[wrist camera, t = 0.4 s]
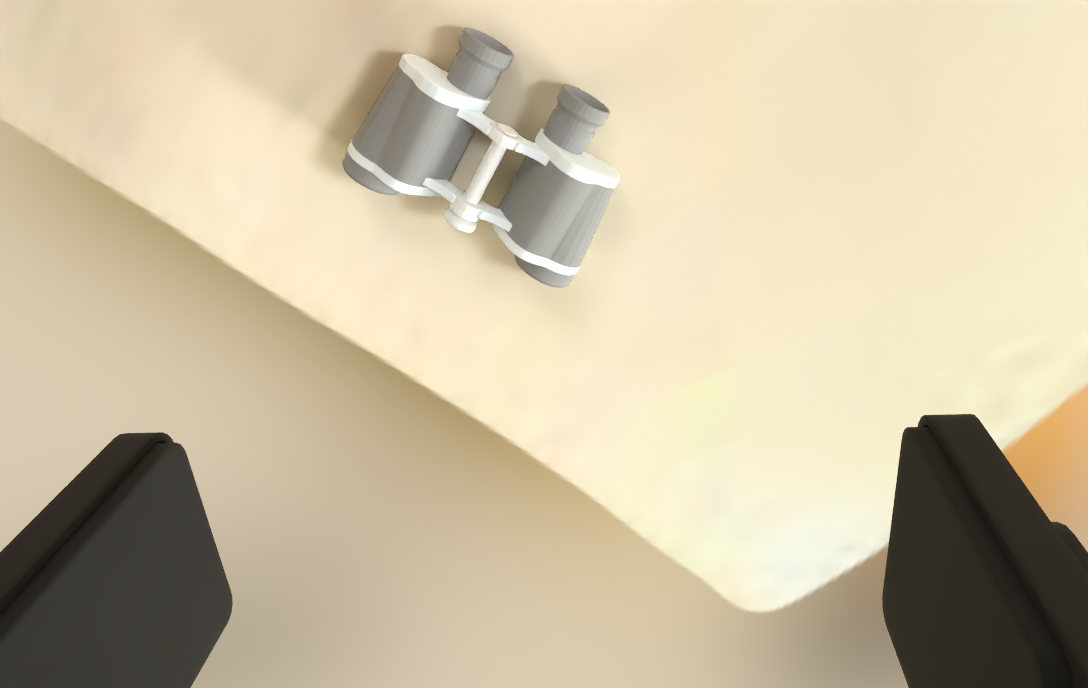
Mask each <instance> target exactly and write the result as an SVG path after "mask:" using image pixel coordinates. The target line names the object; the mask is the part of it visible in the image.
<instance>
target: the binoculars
mask: <svg viewBox="0 0 1088 688" xmlns="http://www.w3.org/2000/svg"><path fill="white" fill-rule="evenodd" d="M459 44H460V50H459V52H458V53H457V55H456V57H455V59H454V61H453V63H452V65H451V67H450V71H449V73H448V72H446V71H444V70H441V69H440V68H438V67H437V66H436V65H434V64H433V63H431V62H429V61H428V60H426V59H424V58H422V57H419V56H416V55H413V54H403V55H402V57H401V60H400V62H399V65H398V67H397V69H396V70H395V72H394V73H393V75H392V77H391V78H390V80H389V81H388V83H387V85H386V86H385V88H384V90H383V91H382V93H381V94H380V96H379V98H378V99H377V101H376V102H375V104H374V106H373V107H372V109H371V111H370V112H369V114H368V115H367V117H366V119H365V120H364V122H363V123H362V125H361V127H360V128H359V130H358V131H357V133H356V135H355V136H354V138H352V140H351V142H350V144H349V147H348V150H347V153H346V155H345V157H344V160H343V163H342V164H343V167H344V170H345V171H346V173H347V174H348V175H349V176H350V177H351V178H352V179H354V180H355V181H356V182H358V183H359V184H361V185H363V186H364V187H366V188H368V189H370V190H373V191H375V192H378V193H382V194H387V195H396V194H399V193H405V194H409V195H418V196H431V197H437V196H443V197H444V198H445V199H446V200H448V201H449V202H450V207H449V208H447V209H446V211H445V212H444V215H443V217H444V219H445V220H446V221H447V222H448V223H449V224H450V225H451V226H453V227H455V228H456V229H458V230H461V231H464V232H473V231H474V230H475V228H476V226H477V222H476V221H478V220H479V219H482V220H485V221H488V222H490V223H491V225H492V227H493V229H494V231H495V232H496V233H497V235H498V236H499V237H500V239H501V240H502V241H503V243H504V244H505V245H506V247H507V248H508V249H509V250H510V251H511V252H512V253H513V254H514V255H515V259H516V262H517V263H518V265H519V266H520V267H521V268H522V269H523V270H524V271H525V272H526V273H527V274H528V275H530V276H531V277H533V278H534V279H536V280H538V281H539V282H541V283H544V284H546V285H549V286H552V287H565V286H567V285H569V283H570V281H571V280H572V278H573V276H574V275H575V274H576V273H577V271H578V270H579V268H580V266H581V264H582V260H583V258H584V256H585V254H586V251H587V249H588V247H589V244H590V242H591V240H592V238H593V235H594V233H595V231H596V229H597V226H598V224H599V222H600V219H601V217H602V215H603V213H604V210H605V208H606V206H607V204H608V201H609V199H610V197H611V194H612V192H613V190H614V188H615V187H616V185H617V184H618V182H619V181H620V176H619V174H618V172H617V171H616V170H615V169H614V168H612V167H611V166H610V165H609V164H607V163H605V162H604V161H602V160H600V159H598V158H596V157H594V156H591V155H590V154H588V153H587V152H585V151H584V149H585V148H586V147H587V145H588V144H589V142H590V140H591V138H592V137H593V135H594V131H595V130H596V128H597V127H599V126H601V125H603V124H604V123H605V121H606V119H607V118H608V116H609V114H610V111H609V109H608V108H607V107H606V106H605V105H604V104H602V103H601V102H600V101H598V100H597V99H596V98H594V97H592V96H591V95H589V94H588V93H586V92H584V91H582V90H580V89H578V88H576V87H573V86H570V85H563V87H562V89H561V90H560V92H559V94H558V96H557V100H558V105H557V107H556V109H554V111H553V112H552V114H551V116H550V118H549V120H548V122H547V124H546V127H545V129H543V128H541V129H540V131H539V133H538V135H537V137H536V139H535V141H534V142H531V141H528V140H526V139H525V138H523V137H521V136H520V135H518V133H517V132H516V131H515V130H514V129H512V128H511V127H509V126H507V125H505V124H502V123H497V122H495V121H493V120H491V119H490V118H488V117H487V116H485V115H484V112H485V110H486V109H487V107H488V105H489V103H490V101H491V99H490V98H489V95H490V93H492V91H493V89H494V87H495V85H496V83H497V81H498V79H499V75H500V73H501V71H503V70H505V69H507V68H508V67H509V65H510V63H511V61H512V59H513V57H514V54H513V53H512V52H511V51H510V50H509V49H508V48H507V47H506V46H504V45H503V44H501V43H500V42H498V41H497V40H495V39H494V38H492V37H490V36H488V35H486V34H484V33H482V32H480V31H477V30H475V29H472V28H465V29H464V31H463V33H462V35H461V37H460V39H459ZM476 128H478V129H479V130H481V131H482V132H483V133H484V134H486V135H488V137H489V138H490V139H492V142H491V144H490V146H489V148H488V150H487V152H486V154H485V156H484V158H483V159H482V161H481V163H480V165H479V167H478V169H477V171H476V173H475V175H474V177H473V179H472V181H471V183H470V185H469V186H468V188H467V190H466V191H463V190H461V189H459V188H457V187H455V186H454V185H452V184H451V183H450V182H449V181H450V179H451V177H452V175H453V173H454V171H455V169H456V167H457V165H458V163H459V161H460V159H461V157H462V155H463V153H464V151H465V149H466V147H467V145H468V143H469V141H470V139H471V137H472V136H473V134H474V132H475V130H476ZM507 148H508V149H511V150H514V151H516V152H519V153H521V154H524V155H526V157H525V159H524V161H523V163H522V165H521V167H520V169H519V170H518V172H517V174H516V176H515V178H514V180H513V181H512V183H511V185H510V187H509V189H508V191H507V192H506V194H505V196H504V198H503V200H502V202H501V203H500V205H499V207H498V208H494V207H492V206H490V205H488V204H486V203H485V202H483V201H482V200H480V199H481V197H482V195H483V193H484V191H485V189H486V187H487V186H488V184H489V182H490V180H491V178H492V176H493V174H494V172H495V170H496V169H497V167H498V165H499V163H500V161H501V159H502V157H503V155H504V153H505V152H506V150H507Z"/></svg>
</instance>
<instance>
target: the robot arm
mask: <svg viewBox="0 0 1088 688" xmlns="http://www.w3.org/2000/svg"><path fill="white" fill-rule="evenodd" d="M882 599H883V613H884V618H885V622H886V626H887V629H888V632H889V634H890V637H891V640H892V643H893V645H894V648H895V650H896V654H897V656H898V659H899V662H900V665H901V667H902V670H903V673H904V675H905V678H906V681H907V684H908V686H909V688H1088V552H1087V551H1086V550H1085V548H1084V547H1083V546H1082V544H1081V543H1080V542H1079V540H1078V539H1077V537H1076V536H1075V535H1074V534H1073V533H1072V531H1070V529H1069V528H1068V527H1067V526H1066V525H1063V524H1061V523H1058V522H1051V521H1050V520H1049V519H1048V517H1047V516H1046V514H1045V513H1044V511H1043V510H1042V509H1041V507H1040V506H1039V504H1038V503H1037V502H1036V500H1035V499H1034V497H1033V496H1032V494H1031V493H1030V492H1029V490H1028V489H1027V487H1026V486H1025V484H1024V483H1023V482H1022V480H1021V479H1020V477H1019V476H1018V475H1017V473H1016V472H1015V470H1014V469H1013V467H1012V466H1011V464H1010V463H1009V462H1008V460H1007V459H1006V457H1005V456H1004V454H1003V453H1002V452H1001V450H1000V449H999V447H998V446H997V445H996V443H995V442H994V440H993V439H992V437H991V436H990V435H989V433H988V432H987V430H986V429H985V427H984V426H983V425H982V423H981V422H980V420H979V419H978V418H977V417H976V416H975V415H972V414H958V415H924V416H923V417H921V419H920V421H919V423H918V427H907V428H906V429H905V430H904V432H903V436H902V442H901V450H900V458H899V466H898V475H897V483H896V491H895V499H894V507H893V515H892V523H891V531H890V539H889V547H888V555H887V564H886V571H885V579H884V588H883V598H882ZM231 611H232V594H231V590H230V587H229V584H228V581H227V578H226V575H225V572H224V569H223V566H222V562H221V559H220V557H219V553H218V550H217V547H216V544H215V541H214V538H213V535H212V532H211V529H210V526H209V522H208V519H207V516H206V513H205V510H204V507H203V504H202V501H201V498H200V495H199V492H198V489H197V486H196V482H195V479H194V476H193V473H192V470H191V467H190V464H189V461H188V457H187V455H186V452H185V450H184V448H183V447H182V446H181V445H180V444H178V443H174V442H173V440H172V439H171V437H170V436H169V435H167V434H165V433H127V434H120V435H118V436H117V437H115V438H114V439H113V440H112V441H111V442H110V443H109V444H108V445H107V446H106V447H105V448H104V449H103V450H102V451H101V452H100V453H99V454H98V455H97V456H96V457H95V458H94V459H93V460H92V461H91V462H90V463H89V464H88V465H87V466H86V467H85V468H84V469H83V470H82V471H81V472H80V473H79V474H78V475H77V476H76V477H75V478H74V479H73V480H72V481H71V482H70V483H69V484H68V485H67V486H66V487H65V488H64V489H63V490H62V491H61V492H60V493H59V494H58V495H57V496H56V497H55V498H54V499H53V500H52V501H51V502H50V503H49V504H48V505H47V506H46V507H45V508H44V509H43V510H42V511H41V512H40V513H39V514H38V515H37V516H36V517H35V518H34V519H33V520H32V521H31V522H30V523H29V524H28V525H27V526H26V527H25V528H24V529H23V530H22V531H21V532H20V533H19V534H18V535H17V536H16V537H15V538H14V539H13V540H12V541H11V542H10V543H9V544H8V545H7V546H6V547H5V548H4V549H3V550H2V551H1V552H0V688H190V687H191V686H192V684H193V682H194V680H195V679H196V677H197V675H198V674H199V672H200V670H201V668H202V667H203V664H204V663H205V661H206V660H207V658H208V656H209V654H210V652H211V651H212V649H213V647H214V646H215V644H216V642H217V640H218V639H219V637H220V635H221V633H222V632H223V630H224V628H225V626H226V625H227V623H228V621H229V618H230V615H231Z"/></svg>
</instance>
